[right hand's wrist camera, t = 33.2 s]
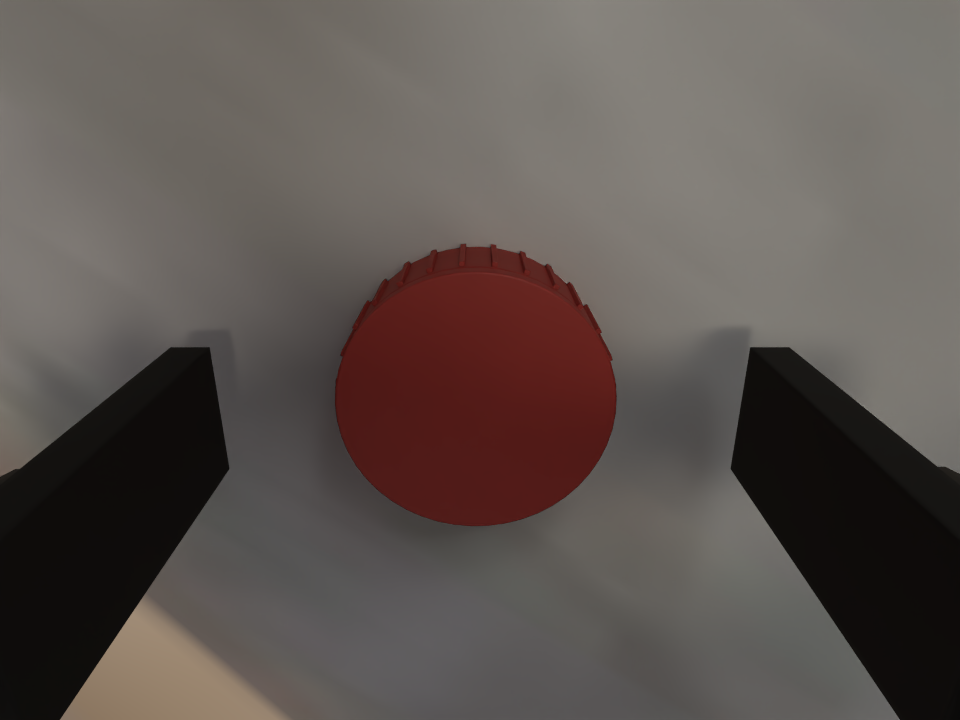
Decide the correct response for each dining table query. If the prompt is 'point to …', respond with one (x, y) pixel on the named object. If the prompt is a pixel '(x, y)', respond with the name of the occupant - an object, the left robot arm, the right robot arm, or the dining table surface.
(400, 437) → the lid
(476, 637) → the dining table surface
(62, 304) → the dining table surface
